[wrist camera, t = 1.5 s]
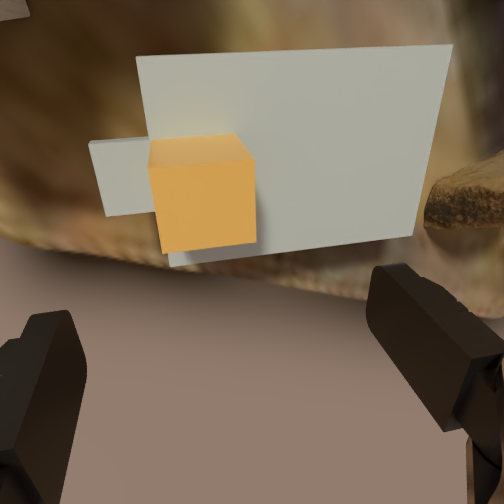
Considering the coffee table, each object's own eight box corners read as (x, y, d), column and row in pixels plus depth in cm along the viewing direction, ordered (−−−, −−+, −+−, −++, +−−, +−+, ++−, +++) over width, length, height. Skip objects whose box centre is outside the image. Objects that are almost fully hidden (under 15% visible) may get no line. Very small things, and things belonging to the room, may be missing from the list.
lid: (430, 44, 22) (531, 45, 16) (396, 223, 27) (461, 274, 22) (75, 57, 18) (34, 66, 12) (123, 257, 24) (110, 327, 18)
